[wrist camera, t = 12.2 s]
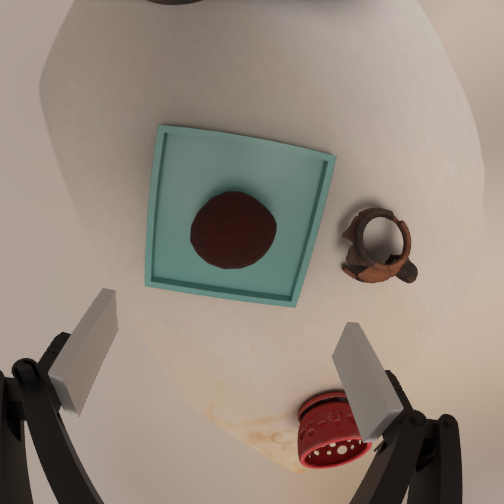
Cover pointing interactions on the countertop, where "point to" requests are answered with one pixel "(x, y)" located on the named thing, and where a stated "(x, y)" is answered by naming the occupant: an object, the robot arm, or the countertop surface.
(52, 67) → the countertop surface
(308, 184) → the teal tray
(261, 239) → the dark brown oval
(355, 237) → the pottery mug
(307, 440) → the plant pot
